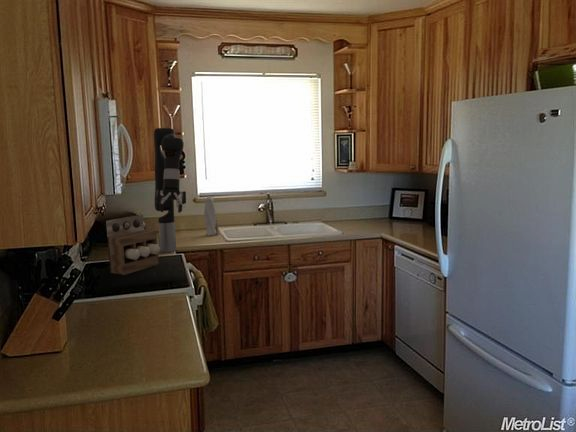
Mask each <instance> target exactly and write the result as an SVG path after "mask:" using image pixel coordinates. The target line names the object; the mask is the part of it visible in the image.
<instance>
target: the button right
mask: <svg viewBox="0 0 576 432" xmlns="http://www.w3.org/2000/svg"><path fill="white" fill-rule="evenodd" d="M146 247H149V249H150V254H158V255H159V252H161V251H160V247H159V244H158V243H157V244H148V243H146Z"/></svg>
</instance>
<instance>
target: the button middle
mask: <svg viewBox="0 0 576 432" xmlns="http://www.w3.org/2000/svg"><path fill="white" fill-rule="evenodd" d="M136 249H137V250H139V252H140V256H143V257H147V256H149V254H150V249H149V247H144V246H136Z"/></svg>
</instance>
